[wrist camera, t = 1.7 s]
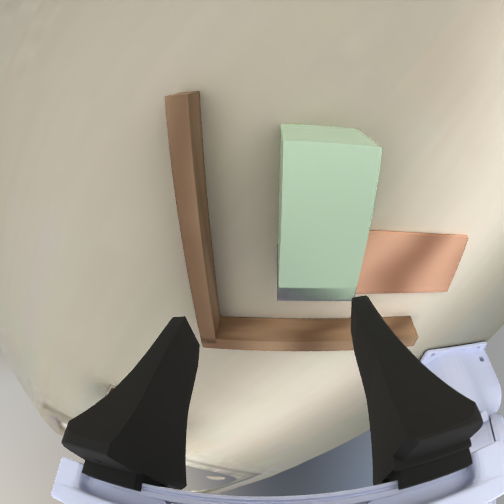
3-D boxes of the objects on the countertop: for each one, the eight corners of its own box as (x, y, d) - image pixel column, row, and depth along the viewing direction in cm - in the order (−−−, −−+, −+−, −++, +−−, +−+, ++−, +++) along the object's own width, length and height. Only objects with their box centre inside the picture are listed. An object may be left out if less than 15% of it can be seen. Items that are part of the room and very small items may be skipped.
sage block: (357, 128, 16) (383, 147, 12) (341, 257, 21) (353, 300, 17) (280, 123, 16) (282, 140, 12) (277, 256, 21) (277, 300, 17)
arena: (493, 125, 14) (515, 135, 12) (429, 323, 24) (437, 343, 22) (179, 92, 15) (164, 96, 13) (207, 325, 25) (202, 347, 23)
